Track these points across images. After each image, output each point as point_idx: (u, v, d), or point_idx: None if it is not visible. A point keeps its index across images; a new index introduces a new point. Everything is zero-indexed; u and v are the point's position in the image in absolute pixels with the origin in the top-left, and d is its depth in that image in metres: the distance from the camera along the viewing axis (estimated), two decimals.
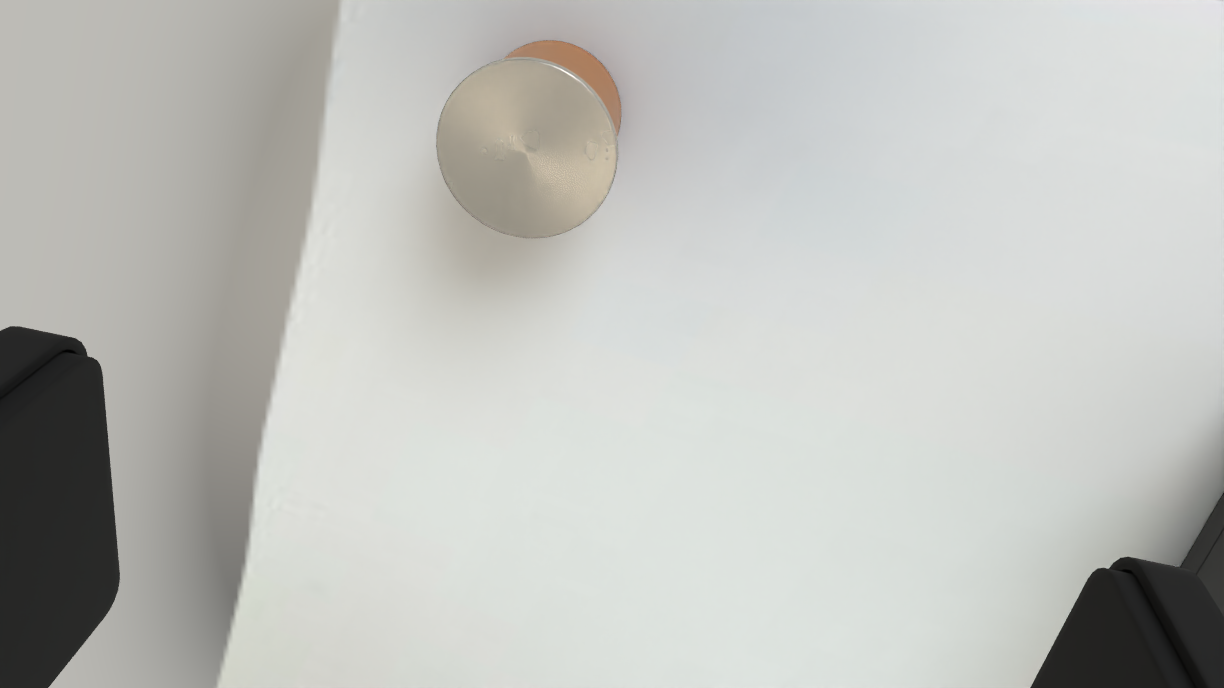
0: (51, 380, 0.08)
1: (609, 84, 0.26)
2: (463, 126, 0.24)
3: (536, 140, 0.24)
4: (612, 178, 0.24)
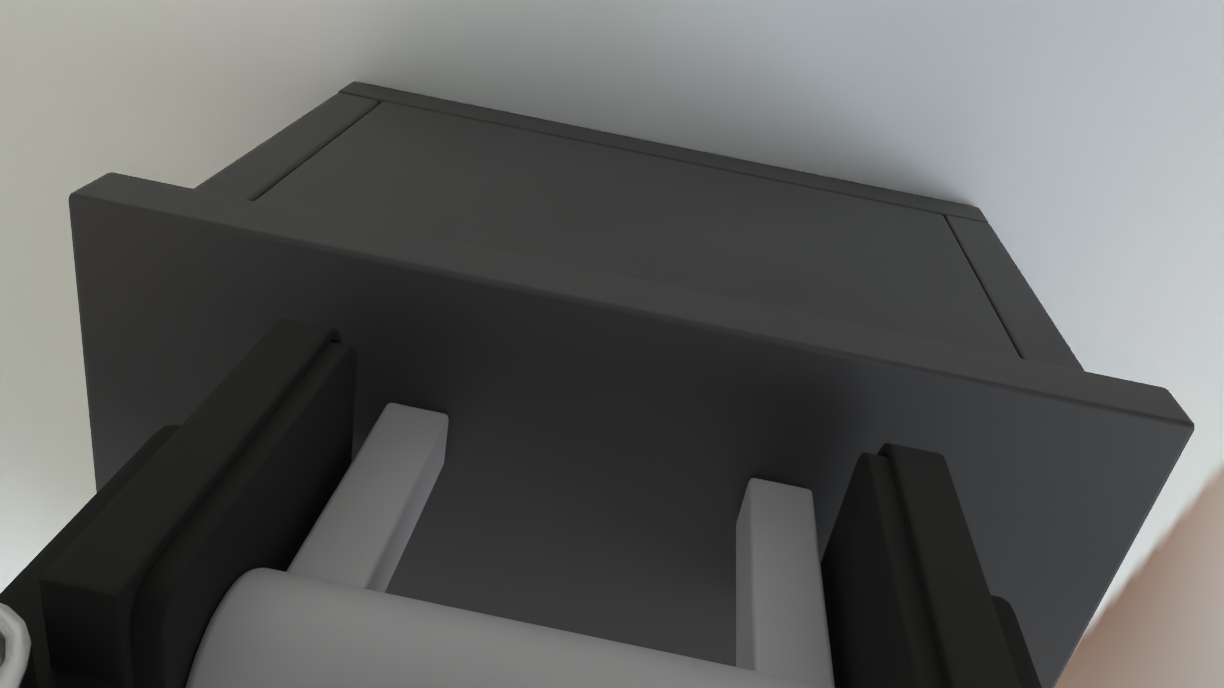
0: (329, 366, 0.09)
1: None
2: None
3: None
4: None
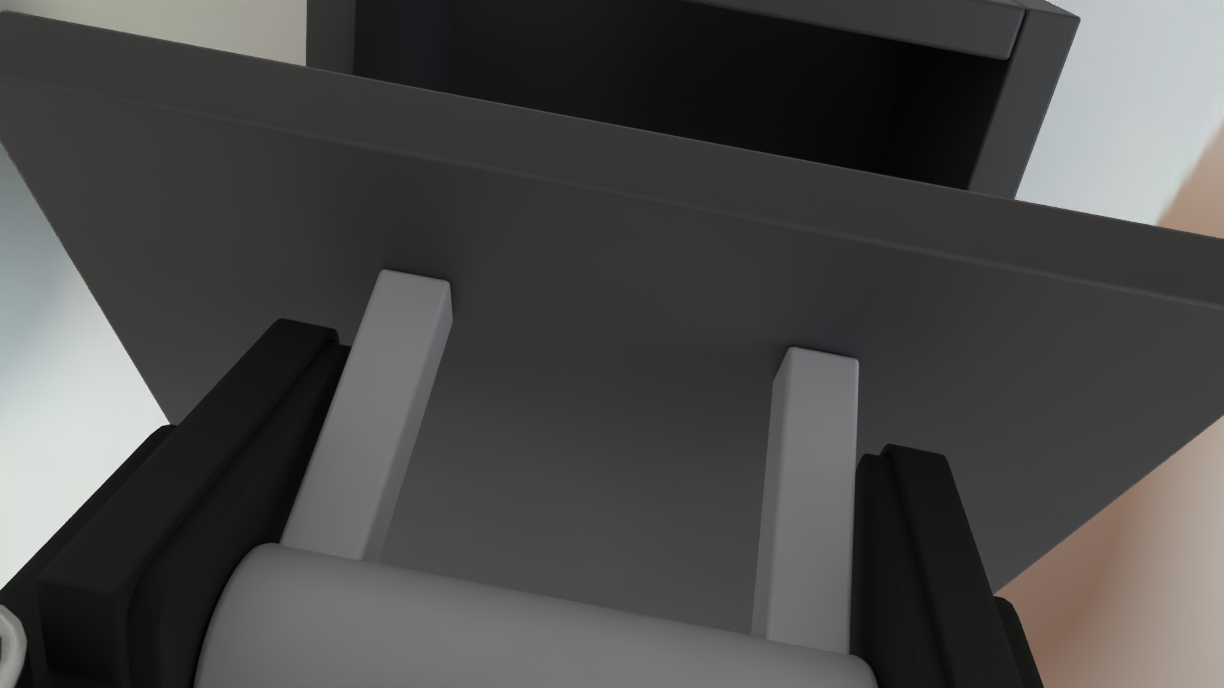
0: (327, 365, 0.09)
1: None
2: None
3: None
4: None
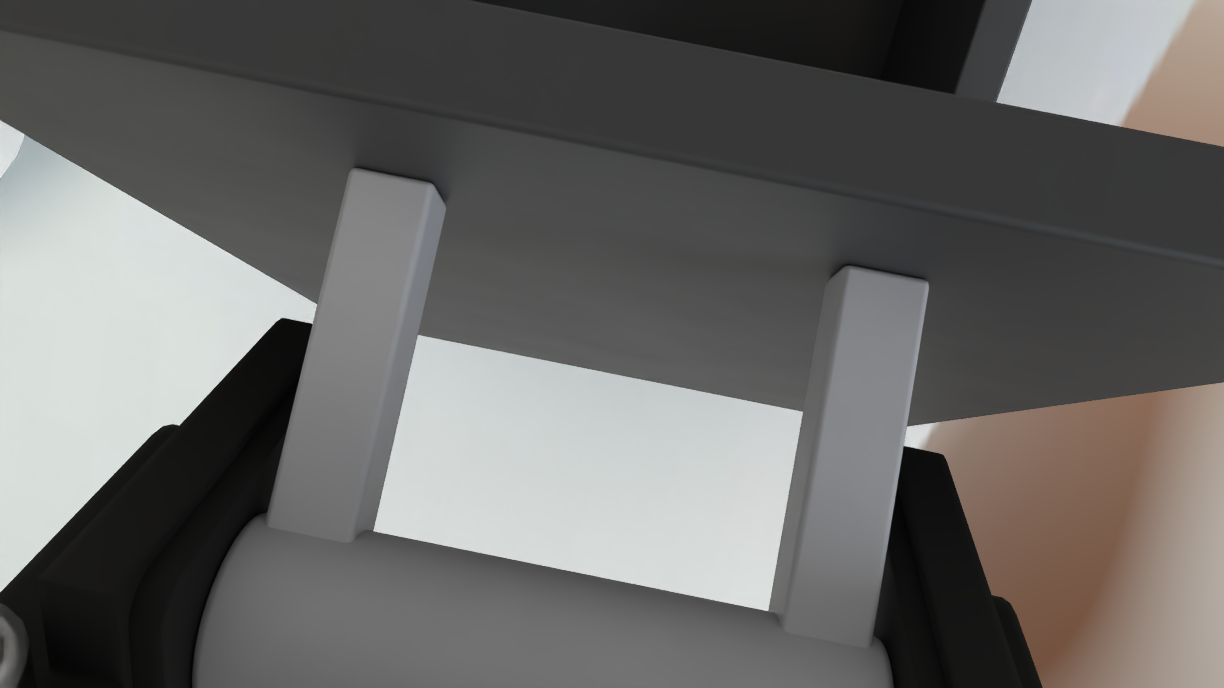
0: None
1: None
2: None
3: None
4: None
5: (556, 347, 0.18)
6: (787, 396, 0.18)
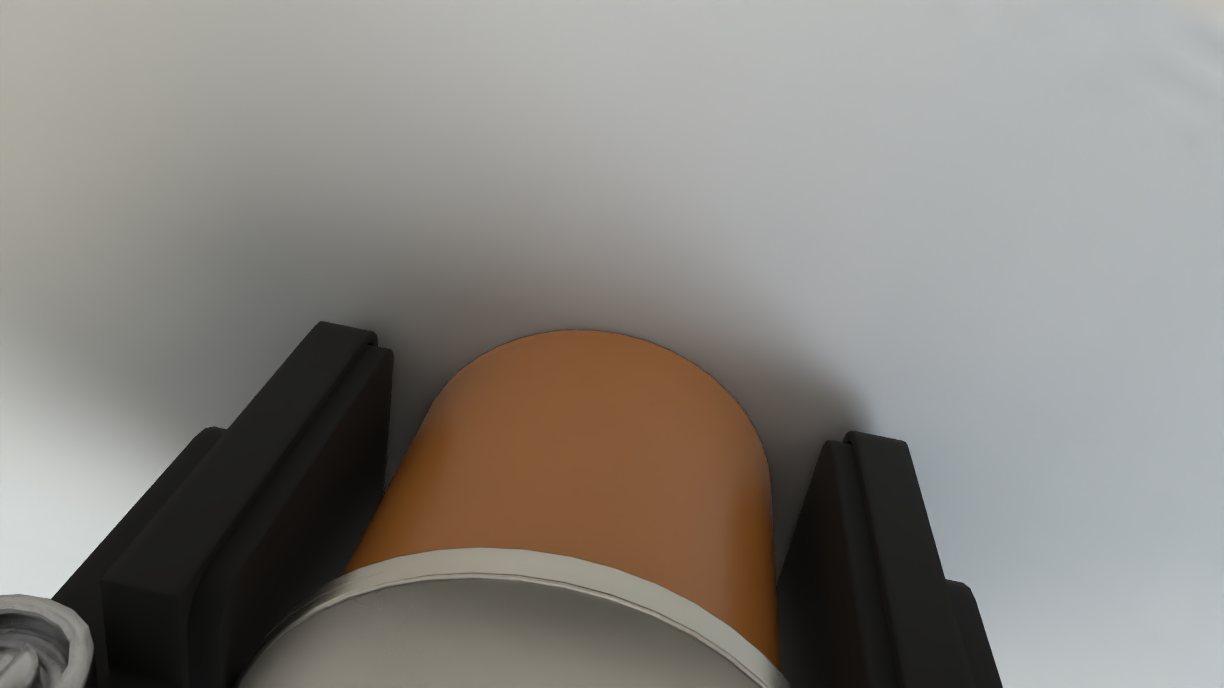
0: (368, 368, 0.09)
1: None
2: (600, 670, 0.06)
3: None
4: None
5: None
6: None
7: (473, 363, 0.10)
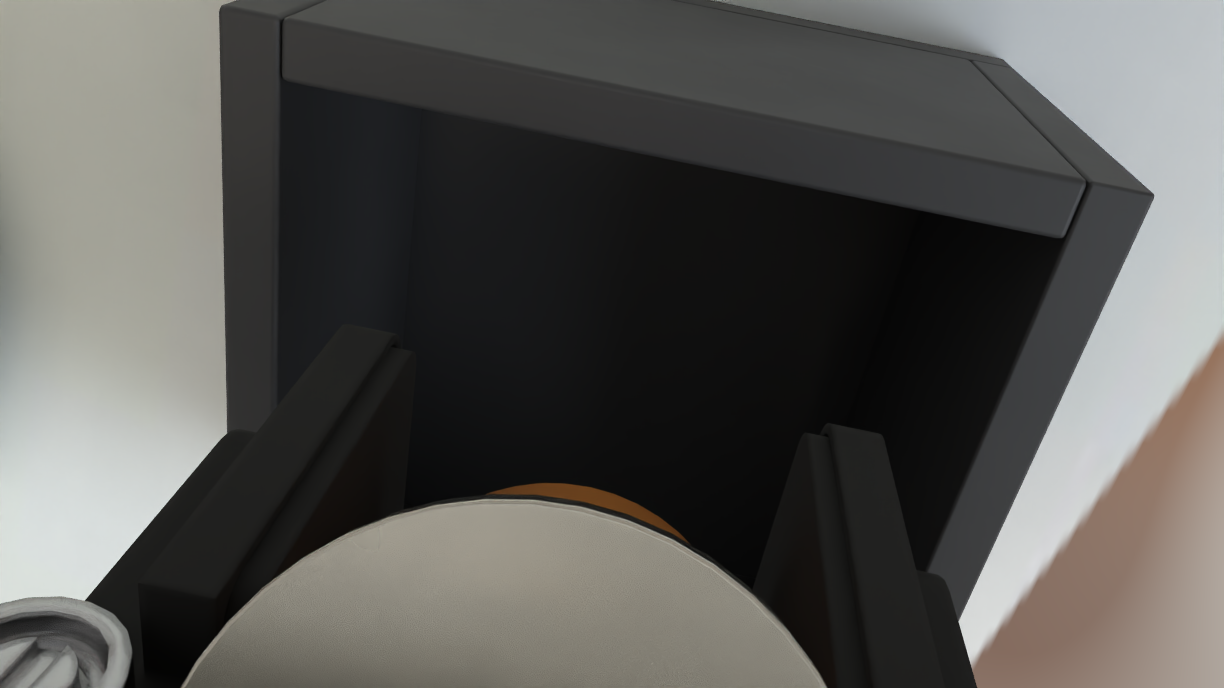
0: (393, 371, 0.09)
1: None
2: (613, 625, 0.06)
3: None
4: None
5: None
6: None
7: None
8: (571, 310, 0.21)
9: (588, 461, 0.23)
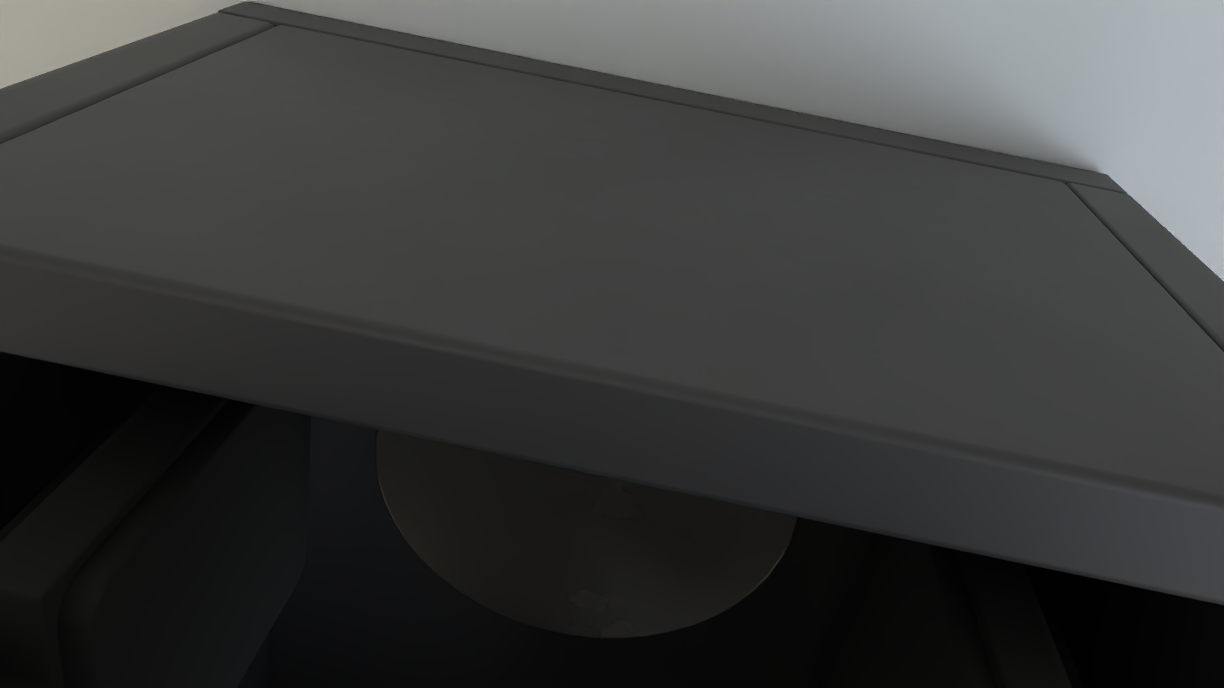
0: None
1: None
2: None
3: (612, 512, 0.10)
4: None
5: None
6: None
7: None
8: None
9: (526, 685, 0.17)
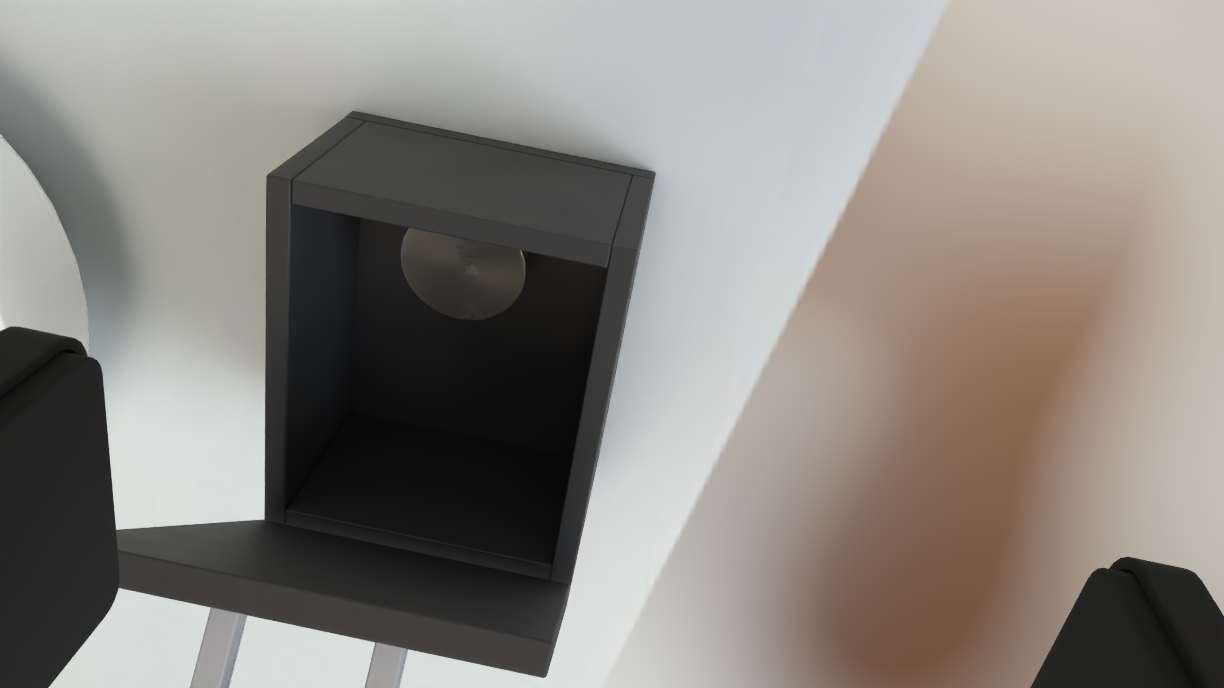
0: (51, 380, 0.08)
1: None
2: None
3: (471, 272, 0.34)
4: None
5: None
6: None
7: None
8: None
9: (459, 386, 0.41)
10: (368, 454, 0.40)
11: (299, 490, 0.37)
